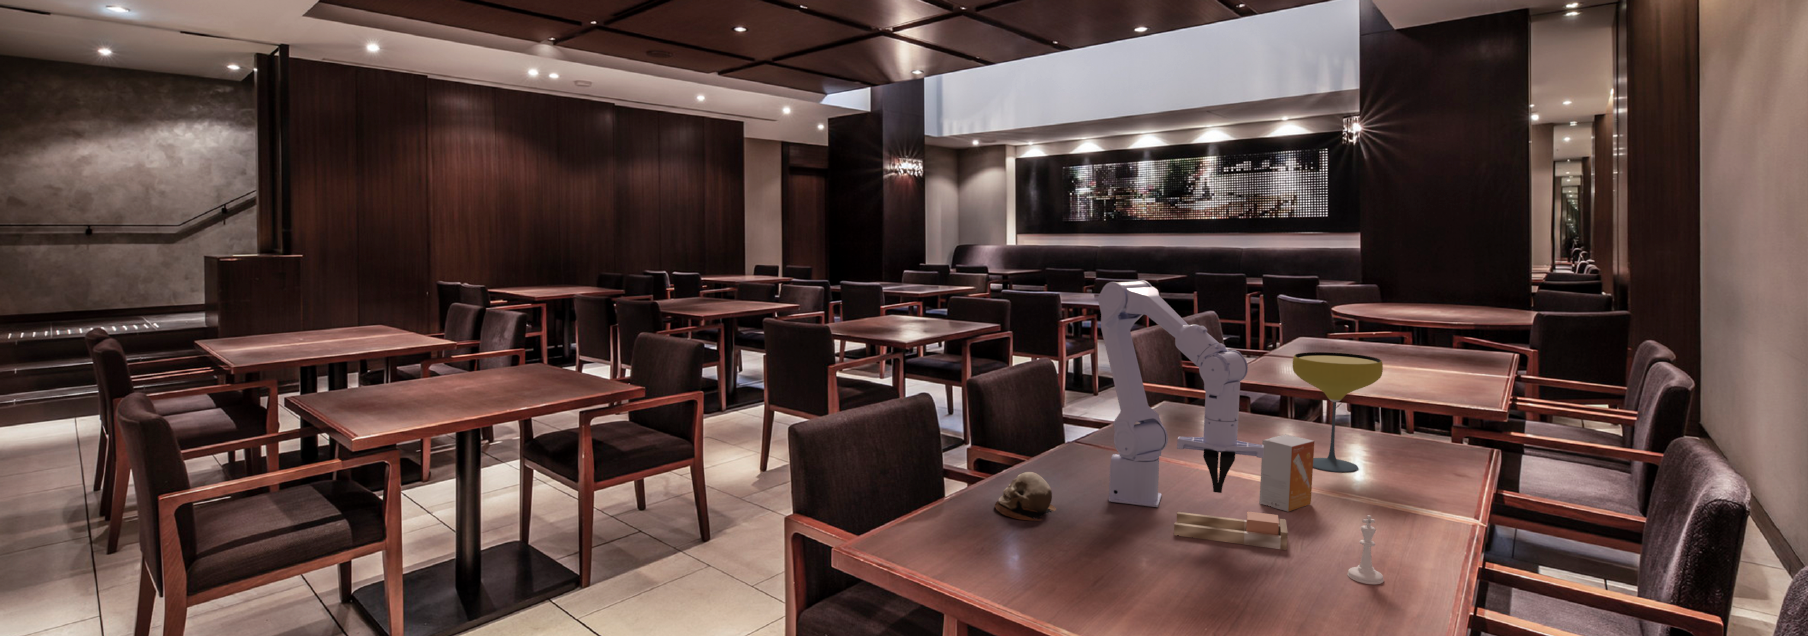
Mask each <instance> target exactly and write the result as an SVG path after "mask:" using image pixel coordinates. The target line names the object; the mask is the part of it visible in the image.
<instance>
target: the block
mask: <svg viewBox="0 0 1808 636" xmlns="http://www.w3.org/2000/svg"><path fill="white" fill-rule="evenodd" d="M1246 520H1247V524H1246V531H1247V532H1255V533H1263V534H1271V535H1278V530H1279V515H1278V514H1273V513H1272V514H1271V513H1263V512H1256V511H1255V512H1254V511H1248V510H1247V512H1246Z"/></svg>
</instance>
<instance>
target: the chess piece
mask: <svg viewBox="0 0 1808 636" xmlns="http://www.w3.org/2000/svg"><path fill="white" fill-rule="evenodd" d="M1375 521H1376V520H1375V519H1373V518H1372V515H1369V514H1368V515H1366V518H1362V523H1363V525H1361V526H1360V530H1361V533H1362V537H1363V539H1360V540H1359V544H1361V545H1362V548H1363V549H1362V554H1361V558H1360V562H1359V564H1358V565H1357V566H1352V567H1350V568H1349V569H1348V571H1347V577H1348V578H1350V579H1351V580H1353V581H1355V582H1358V583H1361V584H1366V585H1380V584H1383V583H1384V575H1383V574H1382V573H1381V572H1380V571H1377V570H1376V569H1375V567H1374V566H1373V561H1372V548H1371V547H1375V546H1376V543H1375V541H1374V540H1372V539H1373V537H1374V536H1375V533H1376V528H1375V527H1374V526H1372V525H1371V524H1374V523H1376V522H1375ZM1364 524H1365V525H1364Z"/></svg>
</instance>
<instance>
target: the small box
mask: <svg viewBox="0 0 1808 636" xmlns="http://www.w3.org/2000/svg"><path fill="white" fill-rule="evenodd" d="M1261 445H1264V453H1263V458H1261V461H1260V462H1261V464H1260V467H1261V468H1260V486H1259V487H1260V488H1259V504H1261V505H1264V506H1267V505H1269V506H1268V507H1270V506H1271V507H1270V508H1274V509H1278V510H1279V511H1280V510H1281V511H1284V512H1291V511H1294V510H1297V509H1301V508H1303V507H1306V506H1310V505H1311V503H1312V488H1313V487H1312V485H1313V469H1314V468H1313V458H1315V457H1314V456H1315V451H1314V450H1315V440H1313V439H1308V438H1304V437H1299V436H1296V435H1290V434H1286V433H1285V434H1282V435H1279V436H1278V435H1277V436H1272V437H1271V438H1270V437H1269V438H1266V439H1263V440H1262V444H1261Z"/></svg>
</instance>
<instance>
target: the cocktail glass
mask: <svg viewBox="0 0 1808 636" xmlns="http://www.w3.org/2000/svg"><path fill="white" fill-rule="evenodd" d="M1383 369H1384V366H1383V361H1382V359H1380V358H1377V357H1373V356H1368V355H1362V354H1356V353H1355V354H1354V353H1347V352H1346V353H1345V352H1328V351H1327V352H1325V351H1323V352H1322V351H1321V352H1320V351H1318V352H1317V351H1315V352H1313V351H1312V352H1311V351H1310V352H1300V353H1296V354H1295V355H1293V358H1292V371H1293V372H1294V374H1295V375H1296V376H1297V377H1298V378H1299V379H1301V380H1303V381H1304V382H1305V383H1307V384H1309V385H1311V386H1313V387H1314V388H1316V389H1318V390H1320V391H1321V392H1322V393H1324V394H1325V396H1326V397H1327V399H1328V400H1329V401H1330V402H1332V417H1331V432H1330V433H1331V435H1330V436H1331V437H1330V446H1329V452H1328V456H1327V457H1313V469H1316V470H1320V471H1326V472H1333V473H1352V472H1356V471H1358V469H1359V467H1358V465H1357V464H1355V463H1353V462H1351V461H1347V460H1345V459H1344V460H1343V459H1338V458H1337V457H1336V453H1335V433H1336V413H1337V412H1336V411H1337V403H1339V402H1340V401H1342V400H1343V399H1344V398H1345V396H1346V395H1348V394H1351V393H1352V392H1354V391H1357V390H1361V389H1363V388H1366V387H1368V386H1371V385H1373V384H1374V383H1376V382H1378V380H1380V379H1381V377H1382V375H1383Z"/></svg>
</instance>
